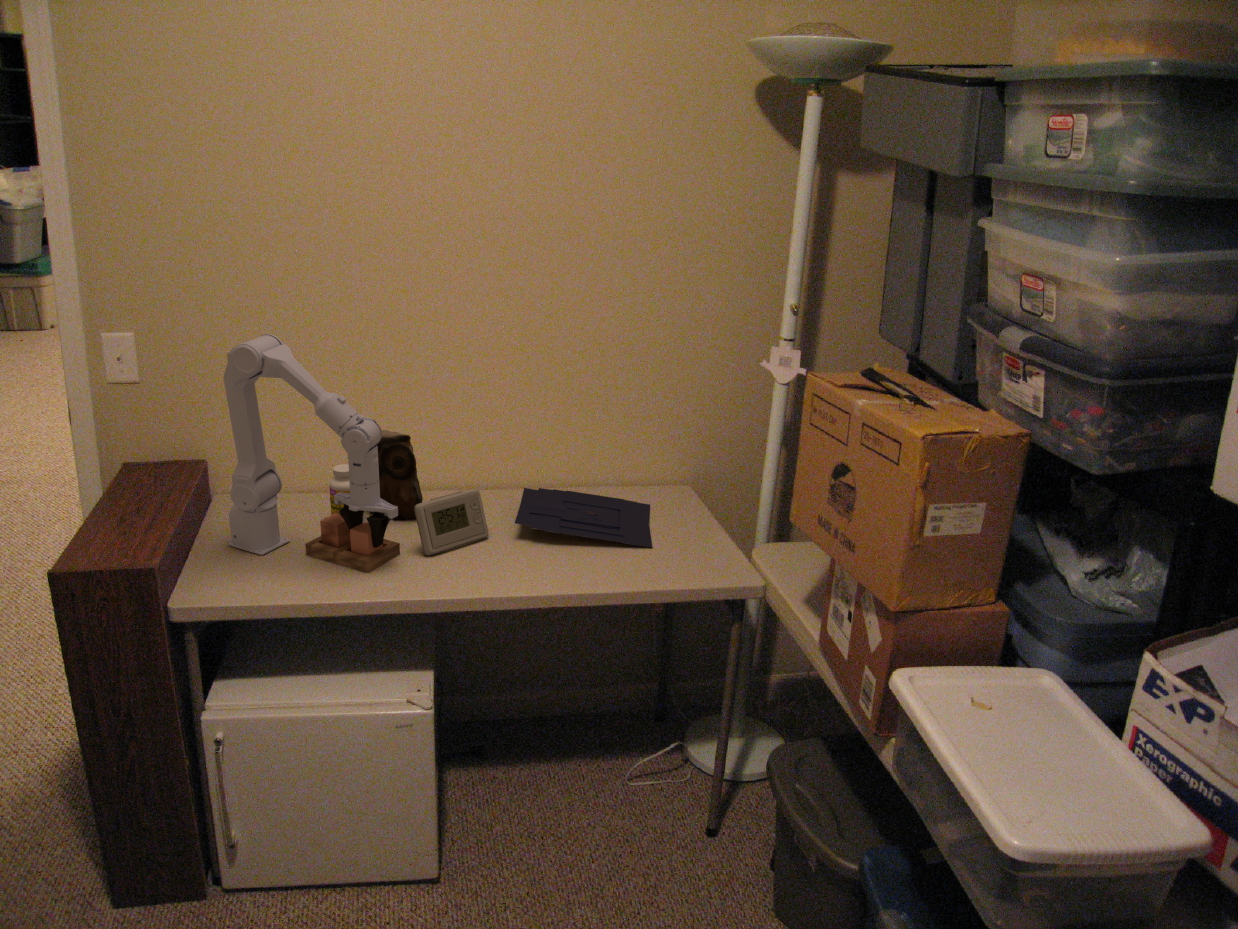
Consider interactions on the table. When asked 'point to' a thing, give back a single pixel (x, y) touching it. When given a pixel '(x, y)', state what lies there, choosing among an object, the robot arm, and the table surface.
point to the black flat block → (586, 515)
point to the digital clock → (451, 521)
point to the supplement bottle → (339, 485)
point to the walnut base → (347, 547)
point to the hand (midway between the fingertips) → (367, 542)
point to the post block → (362, 540)
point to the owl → (398, 474)
